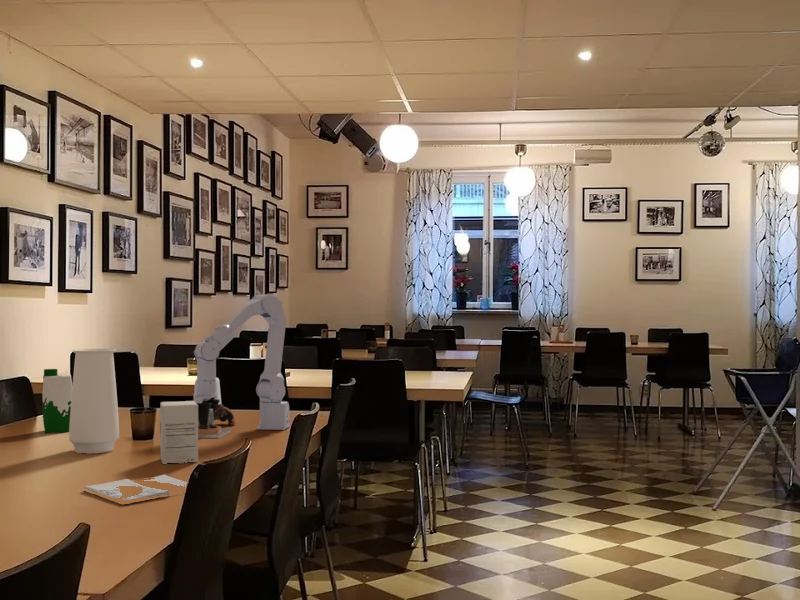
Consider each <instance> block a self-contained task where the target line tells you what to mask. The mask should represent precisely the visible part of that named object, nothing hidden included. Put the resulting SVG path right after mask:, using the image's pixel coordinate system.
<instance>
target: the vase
mask: <svg viewBox="0 0 800 600" xmlns="http://www.w3.org/2000/svg"><path fill="white" fill-rule="evenodd" d="M116 351H117V349H116V348H82V349H81V348H80V349H73V350H72V352H73V353H74V354H75V356H74V357H75V358H74V365H73V377H72V398H71V411H70V426H69V432H68V439H69V442H70V443H72V445H73V447H74V451H75V453H76V452H78V453H77V454H81V453H87V454H86V455H89V454H91V455H93V453H94V454H103V453H108V452H111V451H113V450H114V445H115V443H116V441H117V440H118V439H119V437H120V425H119V424H120V422H119V421H120V420H119V406H118V395H117V394H118V393H117V382H116V381H117V380H116V370H115V367H116V366H115V358H114V357H115V356H114V353H115V352H116Z"/></svg>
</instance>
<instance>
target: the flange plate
mask: <svg viewBox="0 0 800 600" xmlns="http://www.w3.org/2000/svg"><path fill="white" fill-rule="evenodd" d="M230 433H232V429H224V428H222V426H220V425H217V424H216V425H215V424H214V428H212V429H198V439H219V438H222V437H224V436H226V435H228V434H230Z"/></svg>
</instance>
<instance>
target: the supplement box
mask: <svg viewBox="0 0 800 600" xmlns="http://www.w3.org/2000/svg"><path fill="white" fill-rule="evenodd" d="M159 407H160V408H159V409H160V410H159V412H160V413H159V414H160V416H159V417H160V419H159V422H160V424H159V425H160V426H159V427H160V430H159V431H160V434H159V435H160V437H159V439H160V442H159V443H160V452H159V453H160V456H159V457H160V460H161V463H162V465H163V464H165V463H179V464H188V463H187V462H194V463H198V462H199V438H198V405H197V404H196V402H194V400H185V401H183V400H182V401H181V400H180V401H160V406H159ZM184 462H185V463H184ZM165 465H166V464H165Z"/></svg>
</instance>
